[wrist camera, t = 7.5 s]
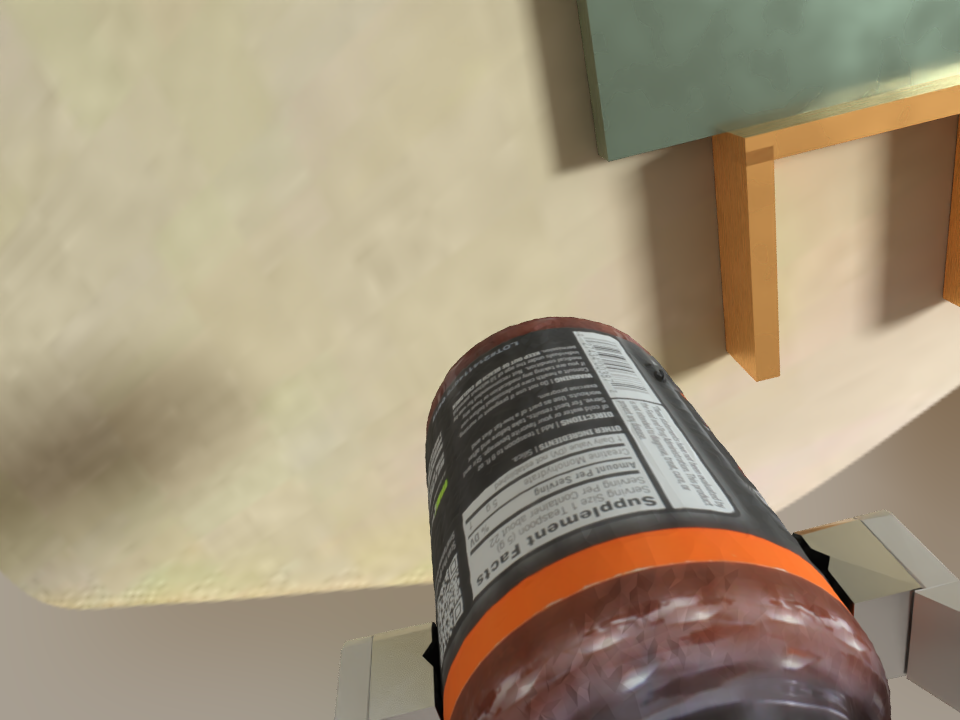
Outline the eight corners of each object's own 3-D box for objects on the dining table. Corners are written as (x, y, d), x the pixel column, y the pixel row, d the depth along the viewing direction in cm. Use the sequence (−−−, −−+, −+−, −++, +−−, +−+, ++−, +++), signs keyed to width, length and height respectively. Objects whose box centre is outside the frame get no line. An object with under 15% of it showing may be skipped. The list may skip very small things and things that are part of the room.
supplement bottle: (680, 482, 18) (1041, 1079, 8) (459, 542, 18) (540, 1207, 8) (649, 273, 15) (1143, 782, 5) (389, 346, 15) (380, 984, 5)
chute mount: (629, 374, 31) (650, 407, 29) (543, -231, 22) (562, -267, 19) (1062, 268, 31) (1124, 292, 28) (1176, -395, 21) (1287, -454, 19)
